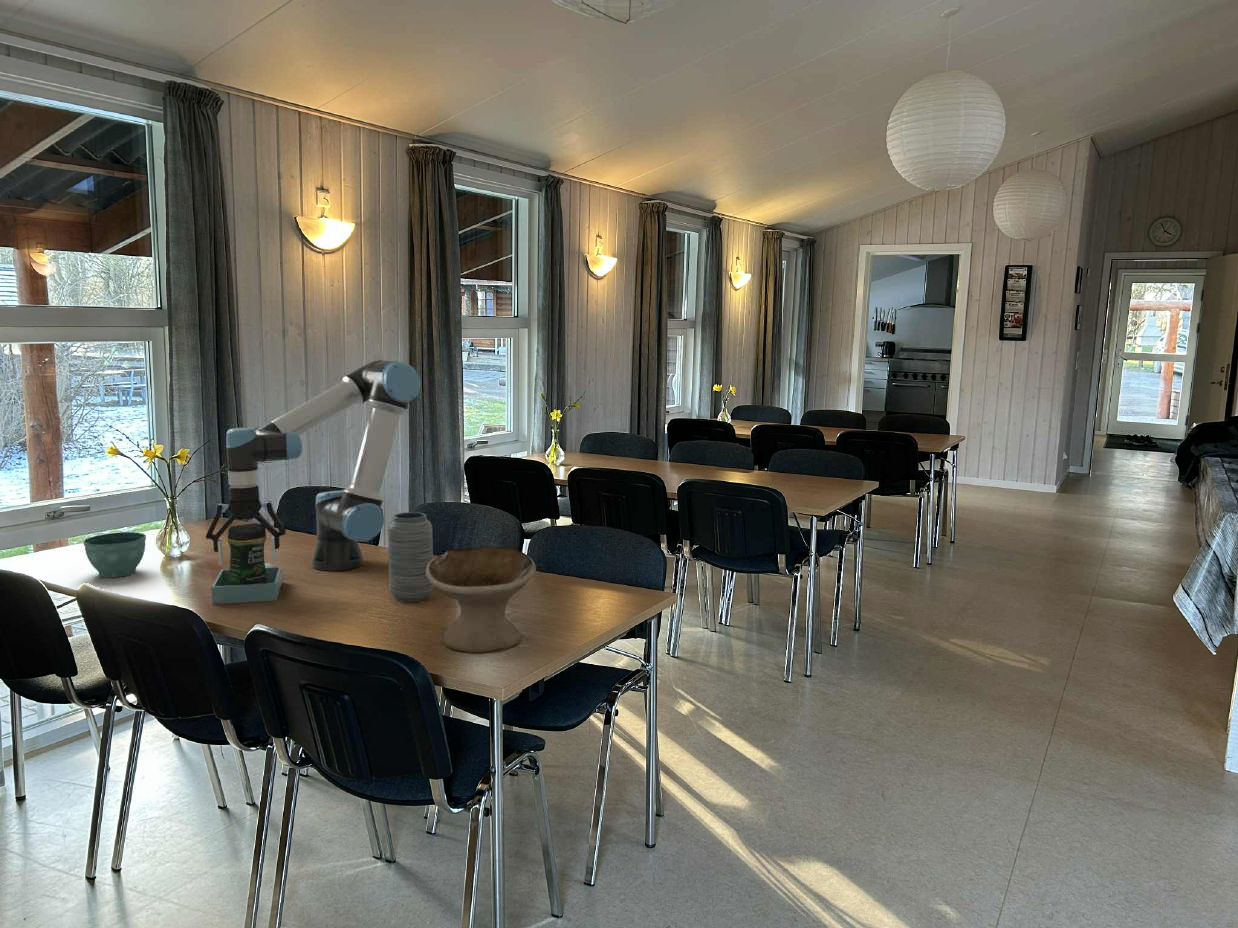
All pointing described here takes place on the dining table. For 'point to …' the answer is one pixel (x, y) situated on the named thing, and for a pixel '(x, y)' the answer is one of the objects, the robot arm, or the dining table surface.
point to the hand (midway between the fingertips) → (247, 561)
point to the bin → (247, 588)
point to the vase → (409, 556)
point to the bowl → (481, 594)
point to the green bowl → (115, 553)
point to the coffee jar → (247, 554)
